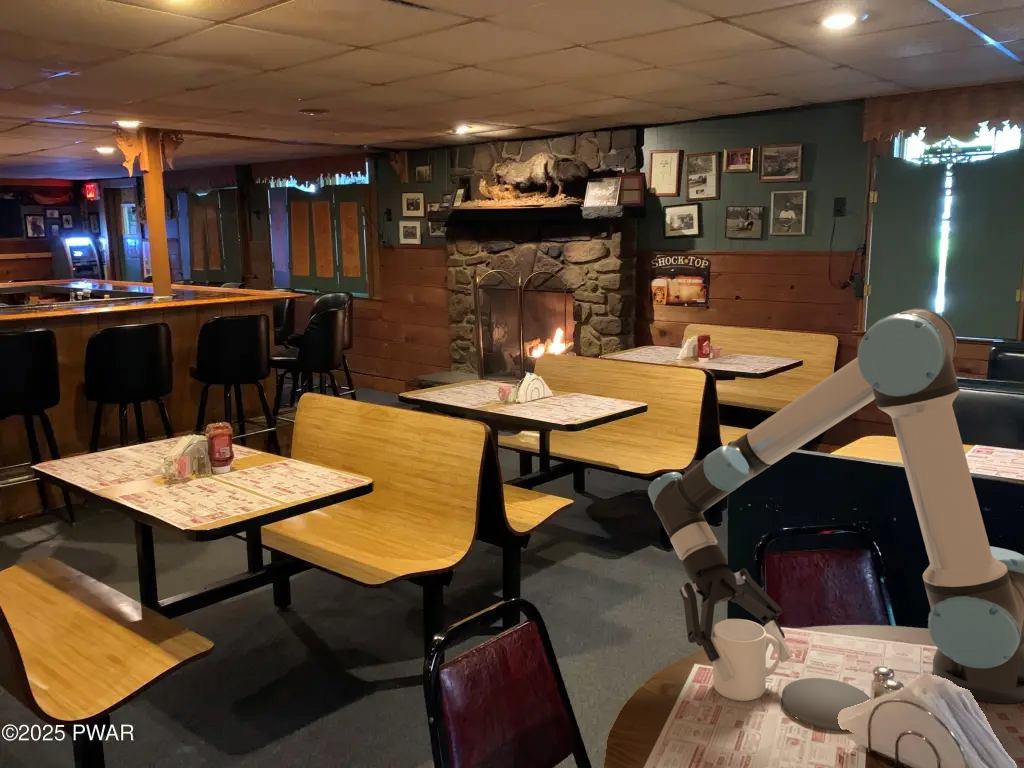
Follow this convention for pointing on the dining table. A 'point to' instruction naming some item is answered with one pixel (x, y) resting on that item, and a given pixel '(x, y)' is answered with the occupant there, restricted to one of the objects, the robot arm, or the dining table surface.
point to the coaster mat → (820, 700)
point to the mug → (743, 658)
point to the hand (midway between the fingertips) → (758, 668)
